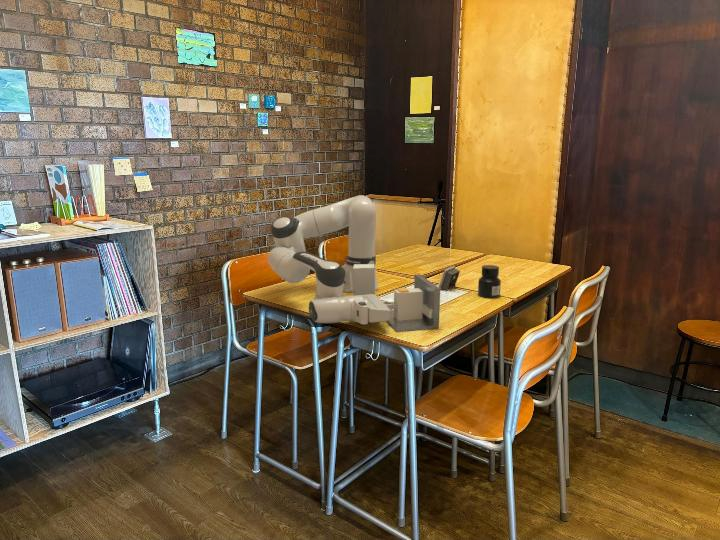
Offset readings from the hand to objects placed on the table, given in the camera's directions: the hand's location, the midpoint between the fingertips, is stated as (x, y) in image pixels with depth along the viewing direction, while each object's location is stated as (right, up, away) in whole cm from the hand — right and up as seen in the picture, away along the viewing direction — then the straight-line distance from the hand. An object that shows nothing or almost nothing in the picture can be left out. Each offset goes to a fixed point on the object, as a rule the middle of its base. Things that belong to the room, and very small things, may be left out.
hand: (395, 305), depth 191 cm
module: (+4, -5, +2) cm, 7 cm away
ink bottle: (+40, +2, +34) cm, 53 cm away
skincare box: (-11, -1, +21) cm, 24 cm away
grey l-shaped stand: (+5, -6, +3) cm, 8 cm away
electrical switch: (+26, +4, +44) cm, 52 cm away
